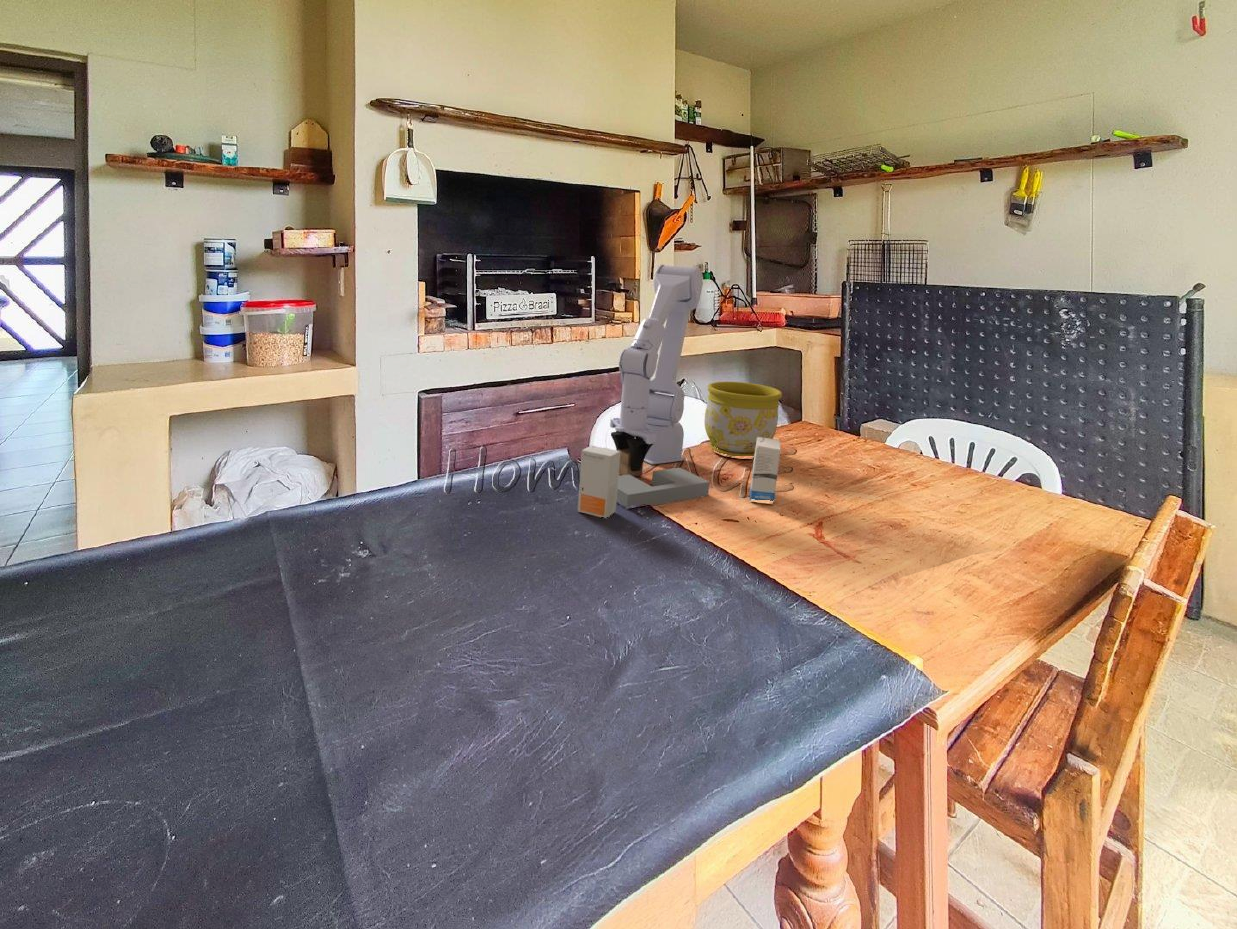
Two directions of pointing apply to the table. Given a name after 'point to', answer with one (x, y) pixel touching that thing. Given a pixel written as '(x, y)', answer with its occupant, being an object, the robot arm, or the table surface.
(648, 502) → the notched board
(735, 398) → the flowerpot
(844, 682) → the table surface
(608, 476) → the skincare box
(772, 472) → the ink box
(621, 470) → the block
